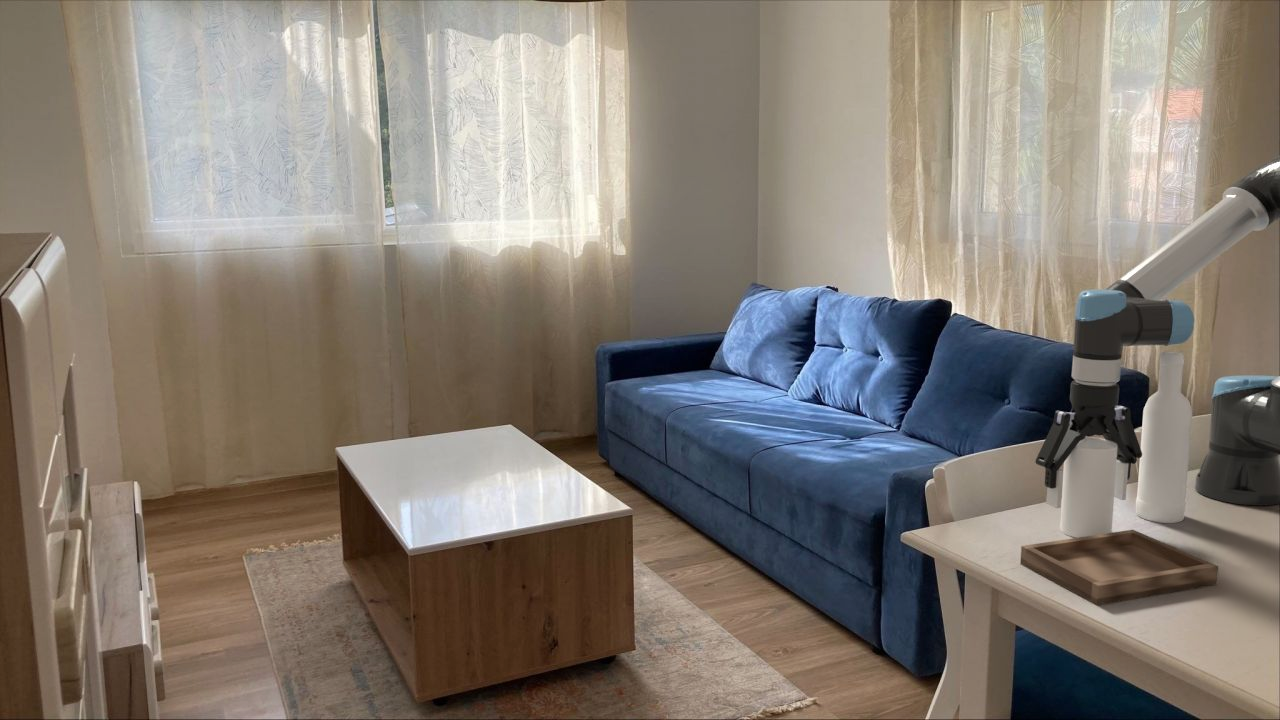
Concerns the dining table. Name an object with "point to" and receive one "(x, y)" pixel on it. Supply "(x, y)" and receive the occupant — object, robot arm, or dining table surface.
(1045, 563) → the tray
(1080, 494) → the cup
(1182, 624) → the dining table surface
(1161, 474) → the bottle
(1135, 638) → the dining table surface
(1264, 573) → the dining table surface
